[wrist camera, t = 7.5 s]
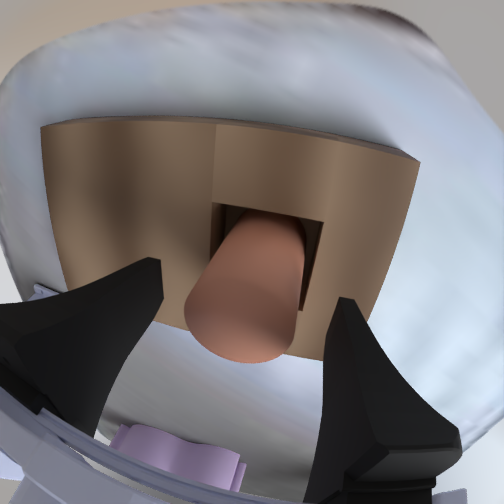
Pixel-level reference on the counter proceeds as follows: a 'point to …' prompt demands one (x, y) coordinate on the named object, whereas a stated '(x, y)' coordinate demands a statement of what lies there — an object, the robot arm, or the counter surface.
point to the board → (224, 204)
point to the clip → (181, 456)
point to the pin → (250, 289)
